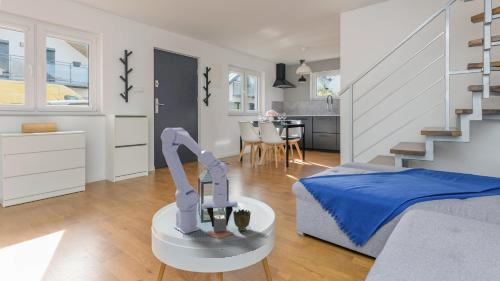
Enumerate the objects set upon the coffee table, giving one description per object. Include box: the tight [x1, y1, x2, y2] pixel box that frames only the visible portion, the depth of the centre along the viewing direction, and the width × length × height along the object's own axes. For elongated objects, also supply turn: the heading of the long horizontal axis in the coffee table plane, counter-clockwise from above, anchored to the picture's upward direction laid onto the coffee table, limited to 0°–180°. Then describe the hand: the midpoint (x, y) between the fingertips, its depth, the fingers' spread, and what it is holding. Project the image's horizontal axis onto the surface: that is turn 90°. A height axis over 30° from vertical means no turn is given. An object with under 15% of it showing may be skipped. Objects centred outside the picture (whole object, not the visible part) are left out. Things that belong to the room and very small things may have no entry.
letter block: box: [212, 214, 227, 232], centre depth 116 cm, size 5×5×5 cm
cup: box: [232, 209, 252, 232], centre depth 119 cm, size 8×7×8 cm
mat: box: [205, 228, 234, 240], centre depth 116 cm, size 8×8×1 cm
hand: (219, 225), depth 116 cm, fingers closed on letter block, 5 cm apart
